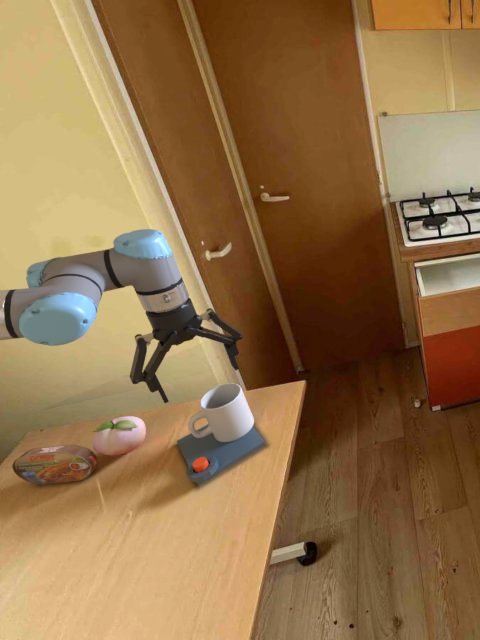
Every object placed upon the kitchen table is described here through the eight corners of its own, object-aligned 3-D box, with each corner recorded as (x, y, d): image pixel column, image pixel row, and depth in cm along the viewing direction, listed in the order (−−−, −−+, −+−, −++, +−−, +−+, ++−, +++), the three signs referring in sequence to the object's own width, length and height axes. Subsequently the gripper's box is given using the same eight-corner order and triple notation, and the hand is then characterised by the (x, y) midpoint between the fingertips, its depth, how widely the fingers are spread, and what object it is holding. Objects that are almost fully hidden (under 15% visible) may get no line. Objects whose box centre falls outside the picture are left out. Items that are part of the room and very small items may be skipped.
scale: (195, 491, 91) (190, 482, 89) (174, 446, 101) (170, 438, 99) (267, 447, 101) (263, 438, 99) (241, 410, 111) (238, 402, 109)
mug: (246, 409, 109) (233, 377, 104) (260, 426, 104) (247, 394, 99) (193, 439, 101) (176, 406, 96) (205, 459, 96) (188, 425, 91)
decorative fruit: (160, 431, 105) (144, 402, 100) (145, 459, 98) (127, 429, 93) (116, 439, 102) (97, 410, 98) (96, 469, 95) (75, 439, 91)
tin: (23, 485, 92) (1, 460, 88) (36, 472, 95) (15, 447, 91) (97, 479, 93) (79, 454, 89) (107, 466, 96) (90, 441, 92)
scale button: (197, 474, 91) (194, 469, 91) (193, 467, 93) (190, 462, 92) (210, 466, 93) (208, 461, 92) (207, 459, 95) (204, 454, 94)
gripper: (88, 340, 75) (135, 424, 84) (241, 286, 91) (266, 362, 101) (82, 323, 79) (128, 405, 89) (229, 275, 96) (254, 348, 105)
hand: (202, 382), depth 95 cm, fingers open, 13 cm apart
